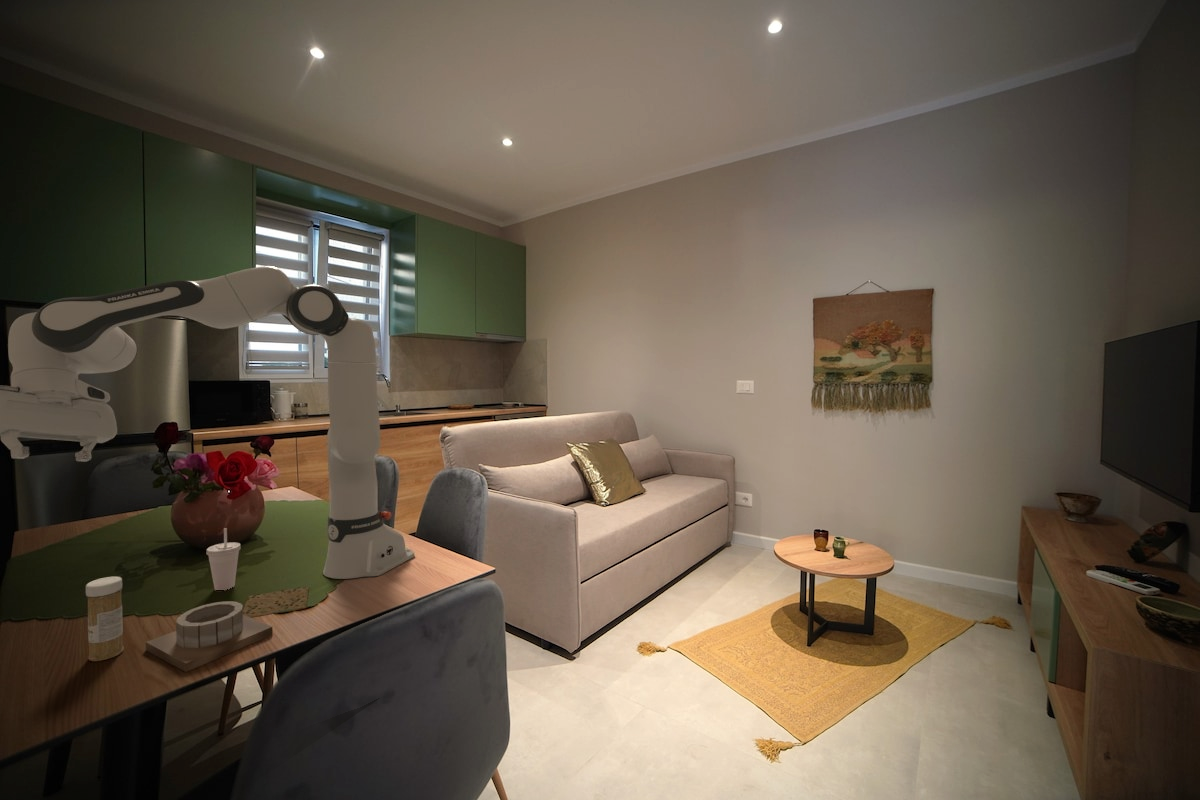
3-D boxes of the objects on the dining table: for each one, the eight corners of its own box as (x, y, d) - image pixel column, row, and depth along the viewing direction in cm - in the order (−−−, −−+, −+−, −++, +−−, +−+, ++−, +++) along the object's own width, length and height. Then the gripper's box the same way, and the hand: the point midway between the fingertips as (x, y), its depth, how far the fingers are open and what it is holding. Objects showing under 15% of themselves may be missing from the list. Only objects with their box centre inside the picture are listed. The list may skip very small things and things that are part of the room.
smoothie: (223, 594, 113) (221, 533, 112) (199, 591, 114) (198, 531, 114) (248, 583, 119) (247, 525, 119) (226, 580, 121) (224, 523, 120)
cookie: (238, 622, 102) (238, 617, 102) (247, 598, 112) (247, 594, 112) (306, 610, 107) (306, 605, 107) (309, 588, 118) (309, 584, 118)
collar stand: (232, 617, 103) (231, 591, 103) (272, 634, 97) (272, 606, 96) (146, 650, 90) (145, 620, 90) (186, 672, 84) (185, 640, 84)
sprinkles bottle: (87, 655, 88) (84, 581, 88) (122, 645, 92) (120, 573, 91) (89, 665, 86) (86, 588, 85) (126, 654, 89) (123, 580, 88)
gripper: (-15, 373, 86) (-10, 448, 83) (118, 395, 106) (127, 456, 103) (-43, 387, 87) (-39, 462, 84) (94, 406, 107) (102, 467, 104)
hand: (53, 459), depth 94 cm, fingers open, 8 cm apart
